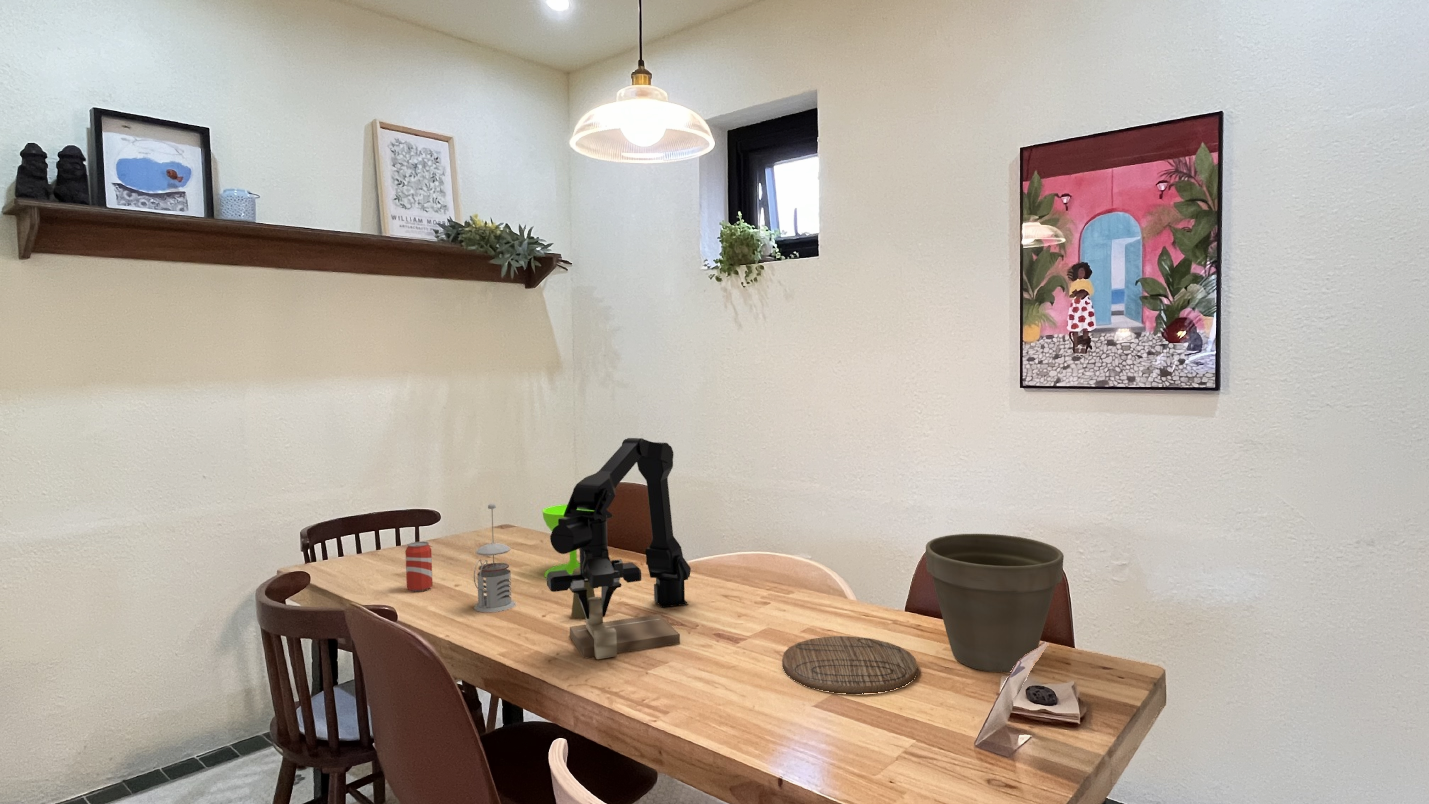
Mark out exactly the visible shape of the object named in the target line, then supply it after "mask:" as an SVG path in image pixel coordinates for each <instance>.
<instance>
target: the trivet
mask: <svg viewBox="0 0 1429 804" xmlns="http://www.w3.org/2000/svg"><path fill="white" fill-rule="evenodd" d="M781 660H782V663H781V664H782V666H781V667H783V668H782V670H783V669H784V670H783V672H784V671H785V672H784V674H785V673H786V674H787V675H788V676H790V677H791V678H792V679H793V680H795V681H797V682H799V683H801V684H802V685H801V684H800V685H801V686H803V685H805V686H807V687H806V688H808V687H810V688H809V689H812V688H815V689H819V690H823V691H829V692H834V693H846V694H862V693H863V694H864V693H878V692H885V691H890V690H894V689H896V688H900V687H902V686H905V685H906V684H908V683H909V682H911V681H912V680H914V678H915V679H916V677H917V675H918V663H917V659H916V657H914V655H913V654H912V653H911V652H909V651H908V650H906V649H905V648H902V647H901V646H898V645H896V644H894V643H890V642H887V641H883V640H879V639H874V638H869V637H862V636H861V637H860V636H850V635H849V636H846V635H836V636H821V637H815V638H810V639H806V640H802V641H799V642H797V643H795V644H792V645H791V646H789V647H788V648H787V649H786V650H785V651H784V652H783V655H782V658H781ZM786 674H785V675H786ZM916 674H917V675H916ZM787 675H786V676H787ZM788 676H787V677H788ZM915 676H916V677H915ZM791 678H790V679H791ZM792 679H791V680H792ZM793 680H792V681H793ZM795 681H794V682H795ZM914 681H915V680H914ZM797 682H796V683H797ZM799 683H798V684H799ZM911 683H912V682H911ZM805 686H804V687H805ZM815 689H814V690H815ZM900 689H901V688H900ZM834 693H833V694H834Z"/></svg>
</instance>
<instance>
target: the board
mask: <svg viewBox="0 0 1429 804" xmlns="http://www.w3.org/2000/svg"><path fill="white" fill-rule="evenodd" d="M602 624H603V625H604V626H605V627H606V629H611V628H614V629H615V630H616V640H617V654H620V653H628V652H634V651H639V650H647V649H653V648H659V647H660V648H661V647H665V646H673V645H678V644H679V645H680V644H681V635H680V633H679V631H677V630H676V629H675V628H674V627H673V626H672V624H670V623H669V622H668V621H667V620H666V619H665V618H664V617H663V616H662V615H661V614H660V613H658V614H652V615H651V614H650V615H643V616H637V617H635V616H634V617H630V618H629V617H628V618H622V619H617V620H616V619H614V620H608V621H603V623H602ZM569 638H570V639H571V640H572V641H573V644H574V645H575V646H576V648H577V650H578V652H579V653H580V655H581V656H582V657H583V659H589V658H596V657H595V652H594V638H593V637H592V635H591V634H590V632H589V631H588V630H587V628H586V624H580V625H573V626H569Z"/></svg>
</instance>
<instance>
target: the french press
mask: <svg viewBox="0 0 1429 804" xmlns="http://www.w3.org/2000/svg"><path fill="white" fill-rule="evenodd" d="M487 509H488V510H491V533H492V536H491V537H492V542H490V543H486V544H484V545H482V546H480V547H478V548H477V549H476V550H475V553H476V554H477V555H479V556H488V557H489V556H492V562H490V563H488V560H487V559H484V561H483V562H482V560H481V559H479V560H478V561H477V562H476V565H475V567H474V570H473V582H474V586H475V588H476V590H477V599H478V600H477V601H478V603H476V604H475V606H474V608H473V610H475V611H477V612H479V613H497V612H498V611H500V612H503V611H502V610H504V611H508V610H510V608H511V609H513V608H515V606H516V604H517V603H516V602H515V601H514V600H513V599H512V592H511V591H512V587H511V586H512V582H511V579H512V576H511V570H510V569H508V568H509V567H510V564H508V563H506V562H495V556H498V555H503V554H506V553H508V552H510V551H511V547H510V546H508V545H507V544H504V543H499V542H494V513H493V510H494V509H497V506H496V504H495V503H494V502H493V503H492V502H491V503H489V504H488V505H487ZM479 562H480V565H479V566H478V564H479ZM477 566H478V570H479V572H477V574H476V570H477ZM476 575H477V583H476ZM484 578H485V579H484ZM485 594H486V595H485ZM507 609H508V610H507ZM498 613H499V612H498Z"/></svg>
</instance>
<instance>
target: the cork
mask: <svg viewBox="0 0 1429 804" xmlns="http://www.w3.org/2000/svg"><path fill="white" fill-rule="evenodd" d="M578 573H580V567H578V568H576V569H574V571H573V573H572V574H578ZM585 578H587V577H585ZM584 587H585V588H586V589H587V601H588V599H589V598H591V597H596V593H595V588H591V587H590V585H589V582H584ZM572 597H573V598H572V607H571V618H574V619H580V620H586V617H585V614H584V611H583V609H582V606H581V603H580V601H579V598H578V596H577V594H576V593H573V596H572Z"/></svg>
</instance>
